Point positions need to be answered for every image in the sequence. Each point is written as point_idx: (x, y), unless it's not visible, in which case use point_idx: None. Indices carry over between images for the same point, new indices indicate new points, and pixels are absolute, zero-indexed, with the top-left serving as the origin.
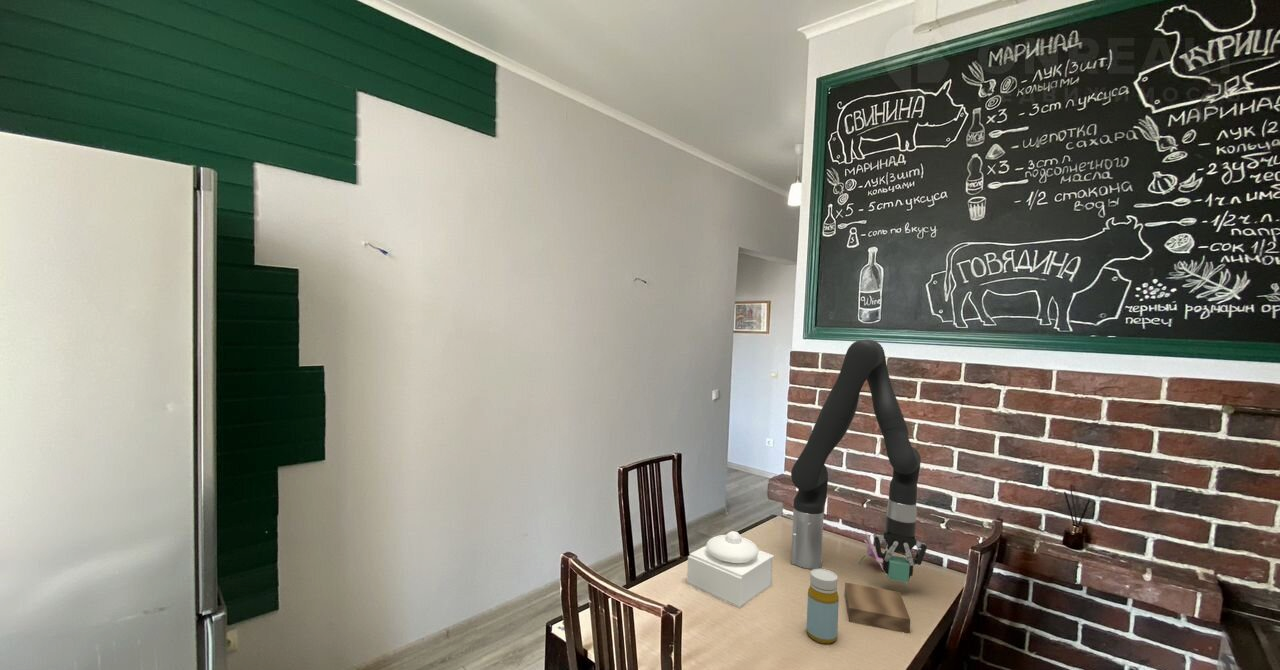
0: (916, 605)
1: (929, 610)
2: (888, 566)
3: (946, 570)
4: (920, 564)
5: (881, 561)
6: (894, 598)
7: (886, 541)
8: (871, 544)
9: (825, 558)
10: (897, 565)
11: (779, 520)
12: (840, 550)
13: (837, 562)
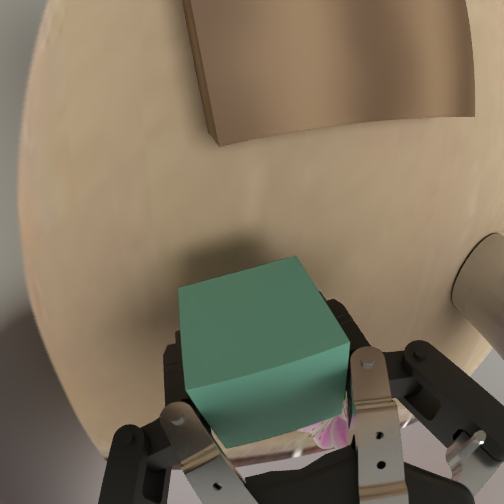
0: (126, 187)
1: (66, 177)
2: None
3: None
4: (117, 430)
5: None
6: (255, 24)
7: (445, 479)
8: (333, 443)
9: (429, 330)
10: (281, 348)
11: None
12: None
13: (407, 333)
